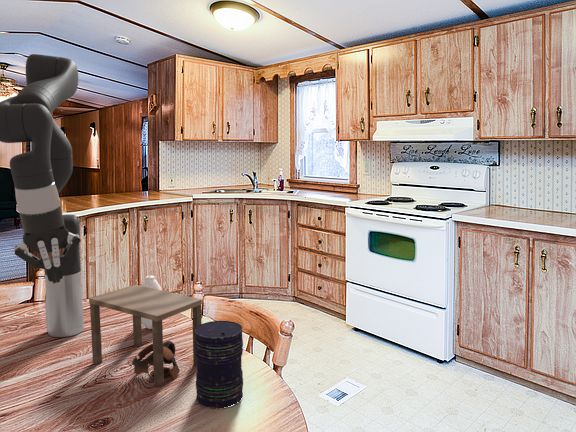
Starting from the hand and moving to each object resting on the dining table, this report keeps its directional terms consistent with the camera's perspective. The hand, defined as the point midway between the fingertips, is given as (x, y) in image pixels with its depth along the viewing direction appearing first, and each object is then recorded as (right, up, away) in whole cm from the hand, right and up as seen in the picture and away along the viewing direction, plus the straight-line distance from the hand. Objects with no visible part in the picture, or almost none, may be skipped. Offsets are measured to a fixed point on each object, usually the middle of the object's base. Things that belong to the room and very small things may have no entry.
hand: (56, 281), depth 104 cm
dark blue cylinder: (+35, -24, -1) cm, 43 cm away
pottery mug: (+19, -23, +10) cm, 32 cm away
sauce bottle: (+10, -19, +38) cm, 43 cm away
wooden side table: (+15, -22, +14) cm, 30 cm away
